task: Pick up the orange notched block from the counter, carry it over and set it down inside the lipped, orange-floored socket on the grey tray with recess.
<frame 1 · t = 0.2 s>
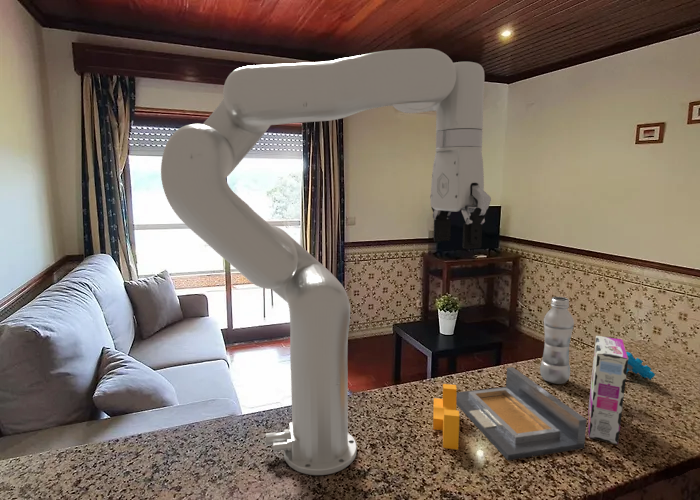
hand: (456, 244, 74), 36 cm above the counter, tool pointing down, fingers open, 9 cm apart
gear: (628, 377, 103), on the counter
plastic bottle: (554, 381, 101), on the counter
orange notched block: (444, 431, 81), on the counter
candy bar box: (602, 428, 82), on the counter
grey tray with recess: (509, 420, 84), on the counter
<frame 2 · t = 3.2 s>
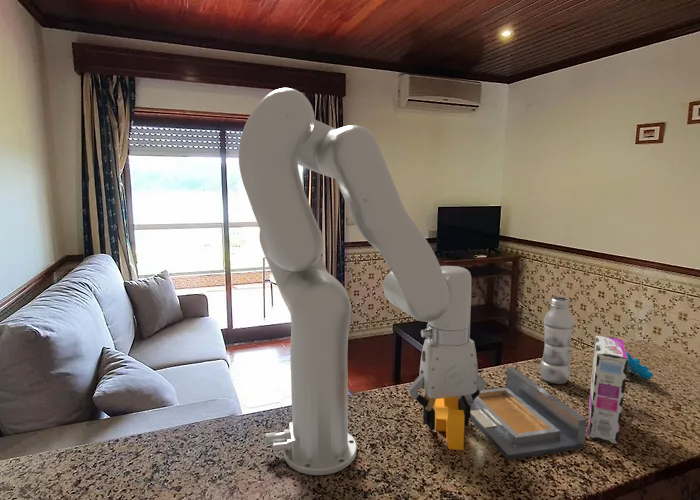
hand: (446, 423, 81), 1 cm above the counter, tool pointing down, fingers open, 6 cm apart
orange notched block: (447, 430, 81), on the counter, touching gripper
everything else where it was.
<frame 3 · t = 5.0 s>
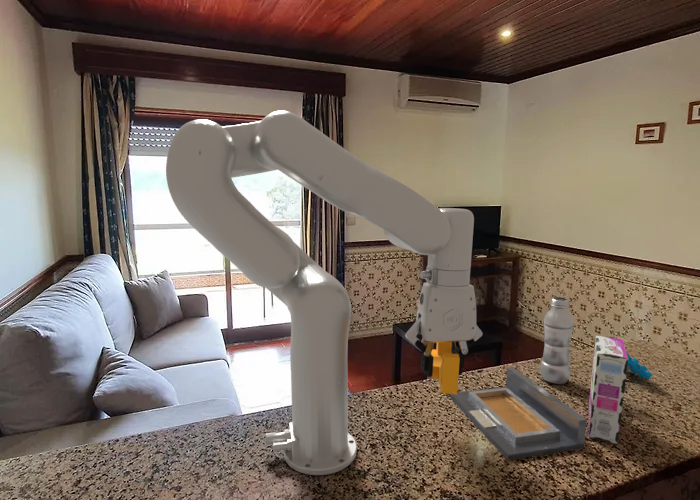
hand: (441, 372, 79), 12 cm above the counter, tool pointing down, fingers closed on orange notched block, 5 cm apart
orange notched block: (440, 379, 79), point 10 cm above the counter, touching gripper
everything else where it was.
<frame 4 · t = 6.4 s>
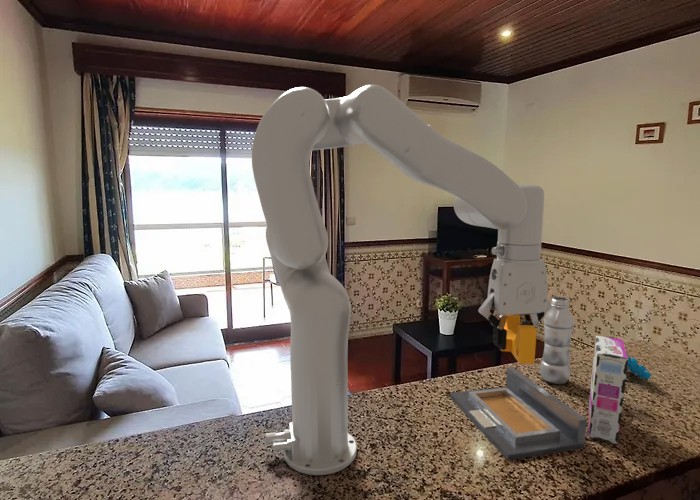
hand: (513, 345, 82), 16 cm above the counter, tool pointing down, fingers closed on orange notched block, 5 cm apart
orange notched block: (512, 351, 81), point 14 cm above the counter, touching gripper
everything else where it was.
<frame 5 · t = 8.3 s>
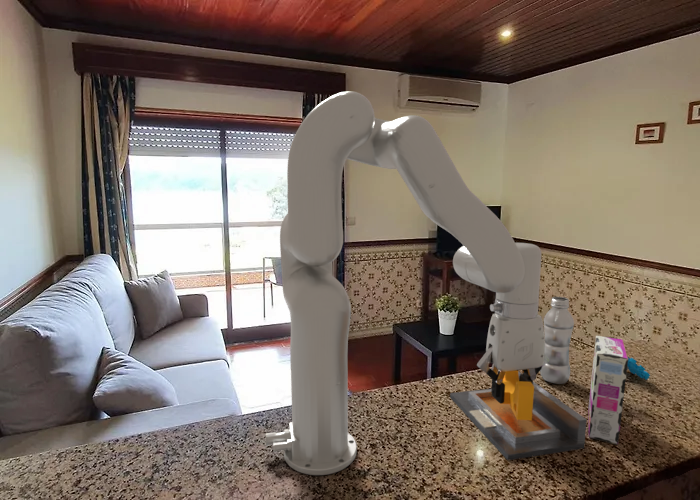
hand: (511, 397, 83), 5 cm above the counter, tool pointing down, fingers closed on orange notched block, 5 cm apart
orange notched block: (510, 404, 83), point 4 cm above the counter, touching gripper
everything else where it was.
when the fingers open (3 cm above the counter, at t = 9.5 s): orange notched block drops 1 cm, resting on grey tray with recess.
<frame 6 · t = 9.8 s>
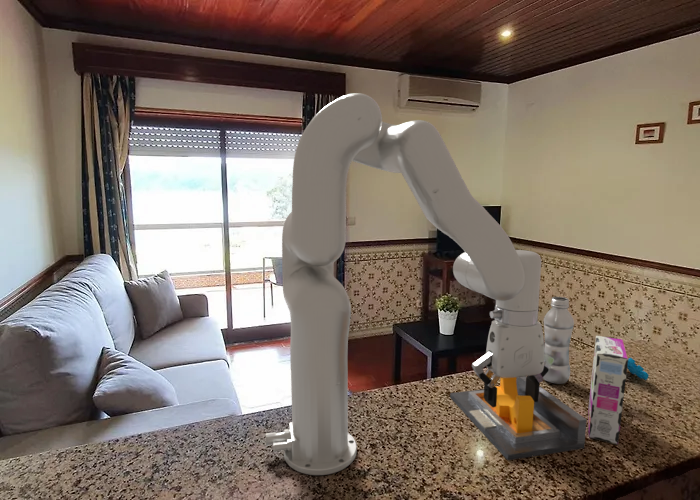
hand: (511, 400, 84), 4 cm above the counter, tool pointing down, fingers open, 8 cm apart
orange notched block: (509, 417, 84), point 1 cm above the counter, touching grey tray with recess
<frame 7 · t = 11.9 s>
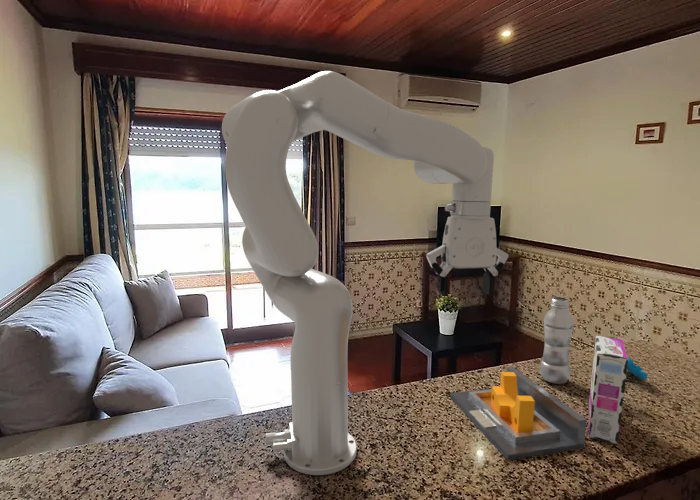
hand: (465, 294, 87), 24 cm above the counter, tool pointing down, fingers open, 9 cm apart
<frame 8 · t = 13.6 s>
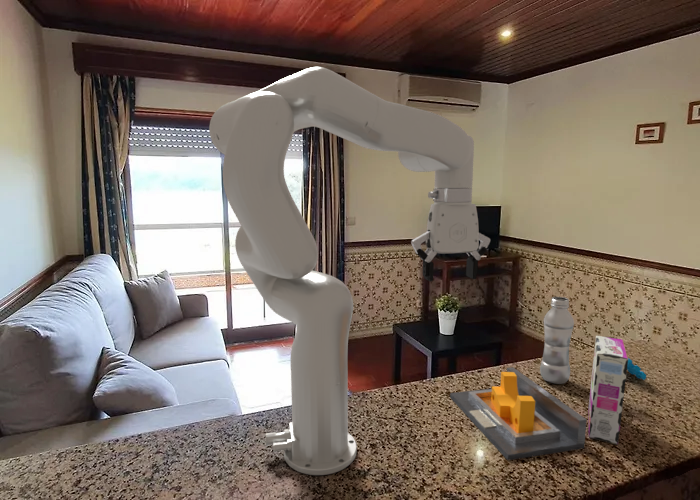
hand: (450, 278, 90), 26 cm above the counter, tool pointing down, fingers open, 9 cm apart
at the end: orange notched block 0.4 cm off-centre on the grey tray with recess, point 0.9 cm above the grey tray with recess's base; orange notched block tilted 0°; the gripper is holding nothing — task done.
